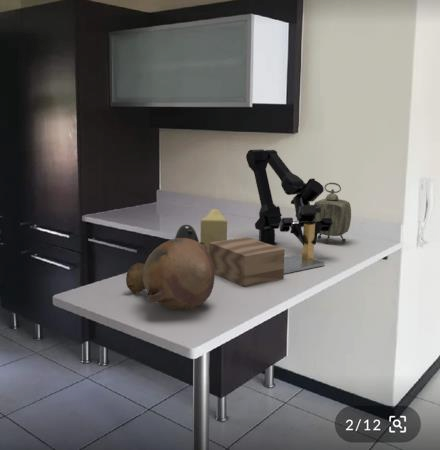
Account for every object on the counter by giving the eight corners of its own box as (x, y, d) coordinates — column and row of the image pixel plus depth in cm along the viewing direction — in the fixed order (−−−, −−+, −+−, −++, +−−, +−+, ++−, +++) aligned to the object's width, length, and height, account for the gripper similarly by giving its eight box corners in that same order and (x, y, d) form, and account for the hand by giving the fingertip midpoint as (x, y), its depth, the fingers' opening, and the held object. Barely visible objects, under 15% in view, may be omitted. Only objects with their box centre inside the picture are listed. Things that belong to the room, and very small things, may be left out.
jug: (227, 312, 152) (163, 301, 175) (231, 240, 154) (166, 239, 176) (167, 314, 139) (106, 302, 161) (172, 235, 140) (110, 234, 162)
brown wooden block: (208, 271, 190) (209, 242, 188) (246, 264, 199) (246, 236, 197) (244, 287, 174) (245, 255, 172) (283, 278, 183) (284, 249, 181)
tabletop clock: (349, 242, 234) (353, 183, 229) (342, 246, 226) (346, 185, 221) (316, 238, 241) (319, 180, 236) (308, 242, 233) (312, 182, 228)
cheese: (203, 243, 228) (203, 207, 225) (227, 244, 227) (227, 208, 224) (200, 258, 206) (200, 218, 203) (226, 258, 206) (227, 219, 203)
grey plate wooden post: (267, 276, 184) (269, 235, 181) (243, 267, 194) (244, 228, 191) (324, 265, 198) (326, 226, 195) (299, 257, 209) (300, 220, 206)
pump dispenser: (178, 273, 187) (178, 228, 184) (166, 265, 196) (166, 222, 193) (206, 269, 192) (206, 226, 189) (193, 262, 201) (193, 220, 198)
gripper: (282, 195, 200) (288, 232, 192) (332, 195, 202) (340, 232, 194) (276, 213, 209) (282, 249, 201) (325, 212, 212) (332, 248, 203)
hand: (309, 244), depth 199 cm, fingers closed on grey plate wooden post, 4 cm apart
